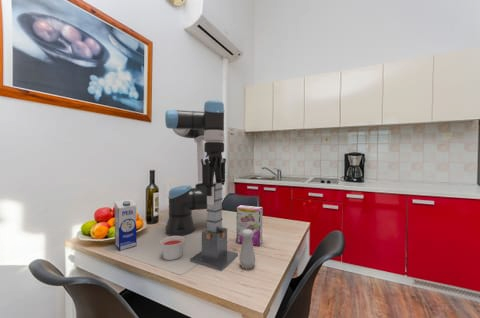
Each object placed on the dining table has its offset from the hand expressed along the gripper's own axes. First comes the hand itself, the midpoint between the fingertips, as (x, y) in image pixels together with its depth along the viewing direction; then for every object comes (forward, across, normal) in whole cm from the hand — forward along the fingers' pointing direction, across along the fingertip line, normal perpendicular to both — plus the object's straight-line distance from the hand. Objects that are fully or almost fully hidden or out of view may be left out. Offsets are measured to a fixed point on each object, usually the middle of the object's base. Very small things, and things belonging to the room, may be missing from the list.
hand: (214, 202), depth 78 cm
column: (+14, 0, 0) cm, 14 cm away
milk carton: (+22, -9, +41) cm, 47 cm away
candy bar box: (+22, +19, -6) cm, 30 cm away
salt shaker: (+22, +1, -14) cm, 26 cm away
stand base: (+22, 0, 0) cm, 22 cm away
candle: (+22, -6, +16) cm, 28 cm away
